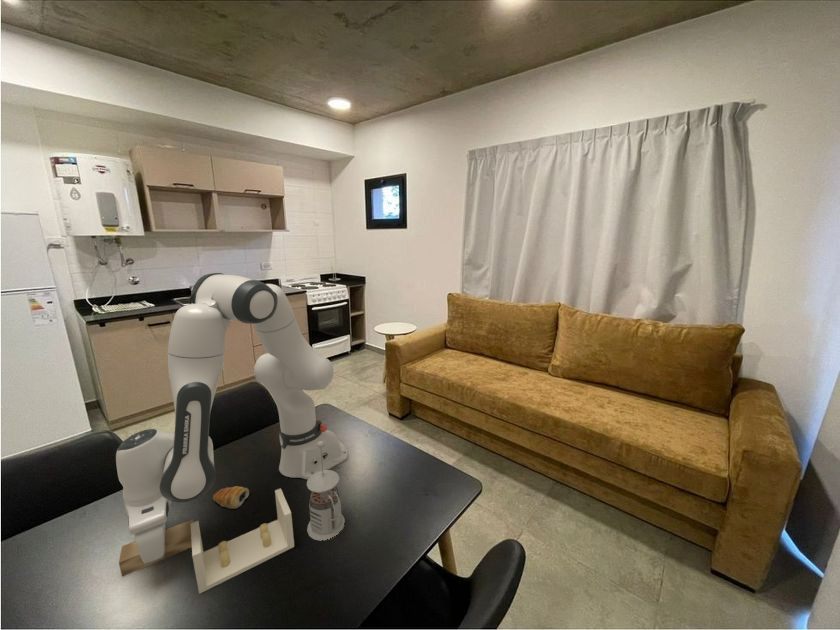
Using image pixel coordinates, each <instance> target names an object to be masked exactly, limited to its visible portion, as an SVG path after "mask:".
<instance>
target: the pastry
mask: <svg viewBox="0 0 840 630" xmlns="http://www.w3.org/2000/svg"><path fill="white" fill-rule="evenodd" d="M249 496H250V489H249V488H248V487H243V486H237V485H234V486H230V487H229V486H228V487H225V488H221V489H219V490H218V491H217V492H215V493H214V494H213V496H212V499H213V502H215V503H217V504H218V505H220V507H222V508H227V509H231V510H232V509H234V510H235V509H238V508H239V507H241V506H242V504H243V503H244V502H245V500H246V499H247V498H249Z"/></svg>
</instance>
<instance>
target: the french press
mask: <svg viewBox="0 0 840 630" xmlns="http://www.w3.org/2000/svg"><path fill="white" fill-rule="evenodd" d="M324 446H325V443H324V442H323V441H319V442H318V443H317V447H318V448H321V462H322V447H324ZM306 480H307V481H306V487H307V489H308V490H310V491H311V492H310V495H309V501H308V507H309V508H308V509H309V517H310V519H309V522H308V524H307V528H306V531H307V534H308V536H309V537H310V538H311V539H313V540H314V541H315V540H316V541H319V542H322V540H323V541H328V540H331V539H333V538H335V537H336V535H339V534H340V533H341V532H342V531H343V530H344V527H345V525H344V523H346V522H345V521H346V519H345V517H344V515H343V514H342V505H341V499H340V498H341V496H340V493H339V489H338V487H337V484H338V483H339V481H340V476H339V474H338V473H337V471H335V470H331V469H328V470H323V462H322V471H319V472H316V473H314V474H313V475H312V476H310V478H309V479H306ZM341 530H342V531H341ZM340 531H341V532H340ZM339 532H340V533H339ZM334 536H335V537H334ZM332 537H333V538H332ZM330 538H331V539H330ZM327 539H328V540H327Z"/></svg>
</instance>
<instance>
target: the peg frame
mask: <svg viewBox="0 0 840 630" xmlns="http://www.w3.org/2000/svg"><path fill="white" fill-rule="evenodd" d="M274 494H275V495H274V496H275V505H276V514H277V519H275V520H273V521H270V522H269V523H266V522H265V523H262V524H260V526H259V527H257V528H255V529H253V530H250V531H249V532H246V533H244V534H241V535H239V536H237V537H235V538H233V539H231V540H228V541H227V540H222V541H220V543H218V545H216V546H214V547H212V548H210V549H208V550H205V551H204V547H203V540H202V536H201V535H202V534H201V530H200V525H199V523H200V522H199V520H196V521H193V523H191V540H192V547H191V551H192V552H191V554H192V555H191V557H192V561H193V568H194V573H195V578H196V584H197V589H198V594H199V595H200V594H202V593H204V592H206V591H208V590H210V589H212V588H213V587H217V586H218V585H220V584H223V583H224V582H226V581H228V580H230V579H232V578H234V577H236V576H238V575H240V574H242V573H244V572H246V571H248V570H250V569H252V568H254V567H256V566H258V565H261V564H262V563H264V562H267V561H268V560H270V559H273V558H274V557H276V556H279V555H280V554H283V553H285V552H286V551H288V550H290V549H293V548H294V547H295V539H294V528H293V518H292V511H291V509H290V506H289V504H288V502H287V499H286V497H285V495H284V493H283V490H282V488H281V487H280V488H277V489H275V490H274Z"/></svg>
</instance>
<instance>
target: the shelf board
mask: <svg viewBox="0 0 840 630" xmlns="http://www.w3.org/2000/svg"><path fill="white" fill-rule="evenodd" d="M191 523H194V519H190V520H188V521H185V522H181V523H179V524H177V525H174V526H172V527H168V528H167V529H166V528H165V555H164V557H163V558H161V559H158V560H155V561H153V562H150V563H147V564H145V563H144V562H143V561H142V559H141V556H140V554H139V551H138V548H137V545H136V541H133V542H130V543H129V542H128V543H126V544H124V545H122V546H121V551H120V553H119V554H120V555H119V560H118V565H119V570H120V573H121V577H124V576H127V575H129V574H131V573H134V572H136V571H139V570H141V569H143V568H145V567H149V566H151V565H153V564H155V563H157V562H160V561H163V560H165V559H167V558H170V557H172V556H175V555H177V554H179V553H181V552H183V551H186V550H188V548H189V549H192V540H191Z"/></svg>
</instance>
